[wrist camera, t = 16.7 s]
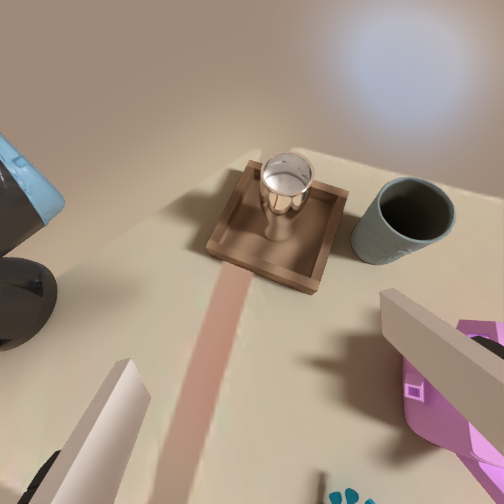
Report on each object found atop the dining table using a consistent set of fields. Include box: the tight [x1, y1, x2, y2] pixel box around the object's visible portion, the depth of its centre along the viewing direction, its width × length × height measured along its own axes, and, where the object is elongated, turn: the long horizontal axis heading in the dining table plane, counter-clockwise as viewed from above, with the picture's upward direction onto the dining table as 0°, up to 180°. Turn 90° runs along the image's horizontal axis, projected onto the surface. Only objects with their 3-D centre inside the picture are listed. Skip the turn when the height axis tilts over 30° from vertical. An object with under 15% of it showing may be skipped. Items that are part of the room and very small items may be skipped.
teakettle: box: [403, 320, 504, 504], centre depth 28 cm, size 17×17×12 cm
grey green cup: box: [350, 177, 456, 265], centre depth 37 cm, size 10×10×12 cm
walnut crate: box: [205, 160, 349, 295], centre depth 42 cm, size 19×19×4 cm
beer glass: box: [259, 151, 314, 242], centre depth 35 cm, size 7×7×15 cm
